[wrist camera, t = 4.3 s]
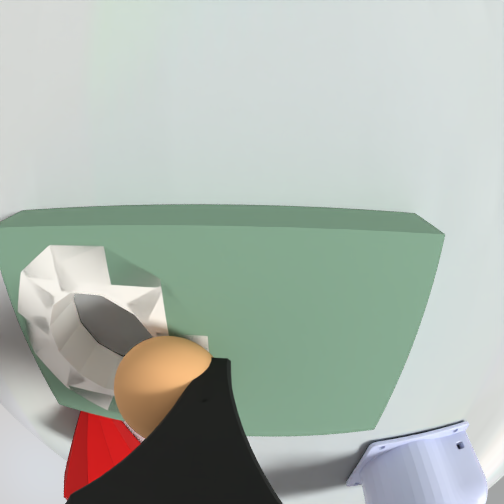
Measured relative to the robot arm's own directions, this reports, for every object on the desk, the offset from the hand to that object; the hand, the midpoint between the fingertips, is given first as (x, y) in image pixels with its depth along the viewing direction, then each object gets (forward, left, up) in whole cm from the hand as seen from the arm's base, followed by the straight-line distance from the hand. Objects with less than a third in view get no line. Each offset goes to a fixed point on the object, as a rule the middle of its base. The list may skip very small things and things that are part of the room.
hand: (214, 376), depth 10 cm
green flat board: (+1, 0, -4) cm, 4 cm away
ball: (+1, 0, +1) cm, 2 cm away
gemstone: (+9, +11, -4) cm, 15 cm away
